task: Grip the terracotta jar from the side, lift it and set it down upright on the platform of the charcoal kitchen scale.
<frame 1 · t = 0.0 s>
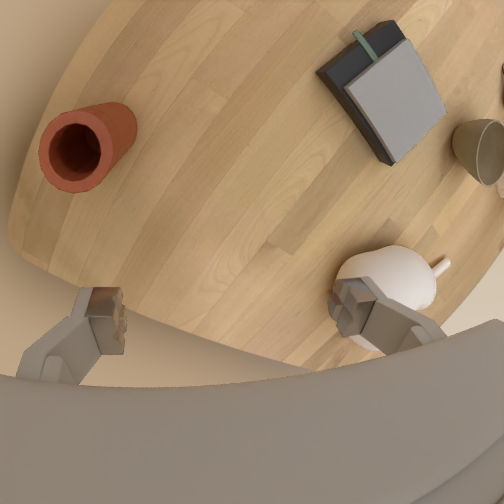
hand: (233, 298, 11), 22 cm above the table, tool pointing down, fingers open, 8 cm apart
jar: (110, 130, 25), on the table
stomach: (383, 274, 44), on the table
scale: (383, 90, 29), on the table
olive grey bowl: (460, 140, 34), on the table
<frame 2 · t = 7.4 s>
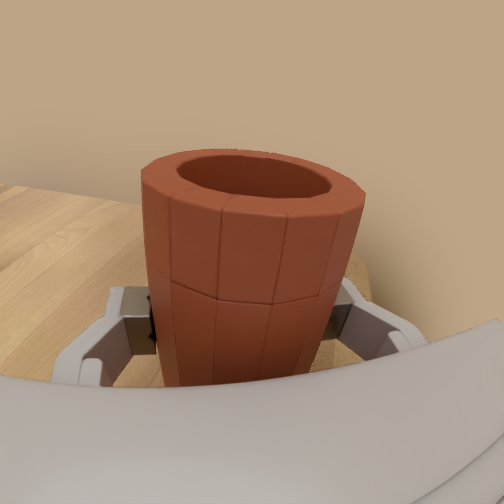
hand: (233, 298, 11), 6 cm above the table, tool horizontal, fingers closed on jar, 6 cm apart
jar: (229, 402, 13), on the table, touching gripper
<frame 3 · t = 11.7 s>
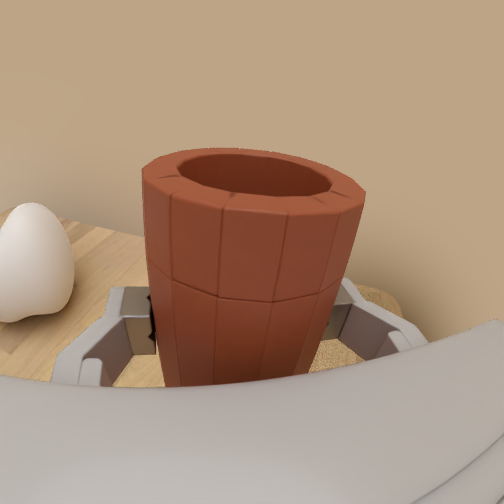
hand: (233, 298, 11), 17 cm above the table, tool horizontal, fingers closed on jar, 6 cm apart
jar: (229, 401, 13), point 11 cm above the table, touching gripper
stomach: (13, 299, 30), on the table
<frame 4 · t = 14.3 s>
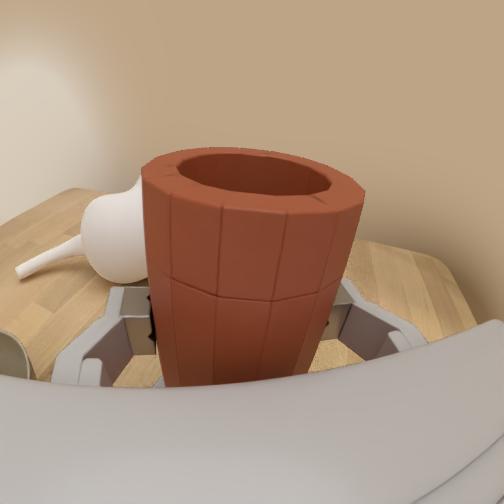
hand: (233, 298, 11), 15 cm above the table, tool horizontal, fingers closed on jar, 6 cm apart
jar: (229, 401, 13), point 9 cm above the table, touching gripper
stomach: (117, 264, 37), on the table
olive grey bowl: (20, 429, 15), on the table
when the fingers open (9 cm above the table, at t = 16.3 s): jar stays where it is, resting on scale.
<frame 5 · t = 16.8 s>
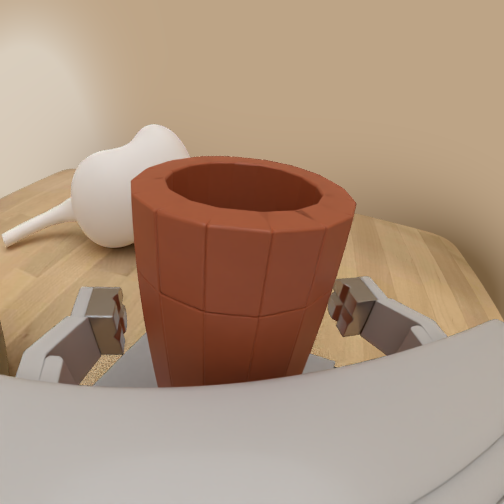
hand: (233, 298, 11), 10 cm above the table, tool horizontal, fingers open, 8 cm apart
jar: (223, 407, 13), point 3 cm above the table, touching scale
stomach: (109, 232, 34), on the table
scale: (223, 433, 15), on the table
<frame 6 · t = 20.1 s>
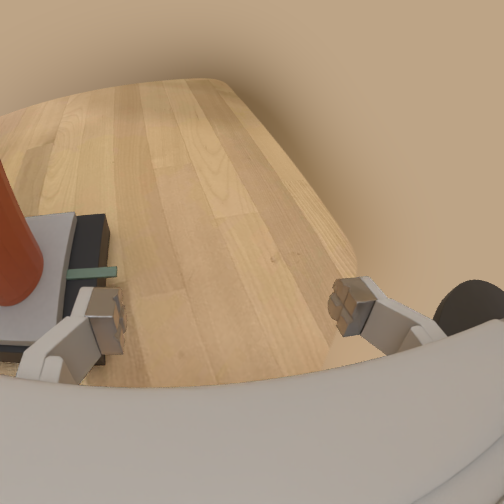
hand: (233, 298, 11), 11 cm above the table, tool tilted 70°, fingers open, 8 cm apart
jar: (13, 272, 16), point 3 cm above the table, touching scale
scale: (31, 294, 19), on the table
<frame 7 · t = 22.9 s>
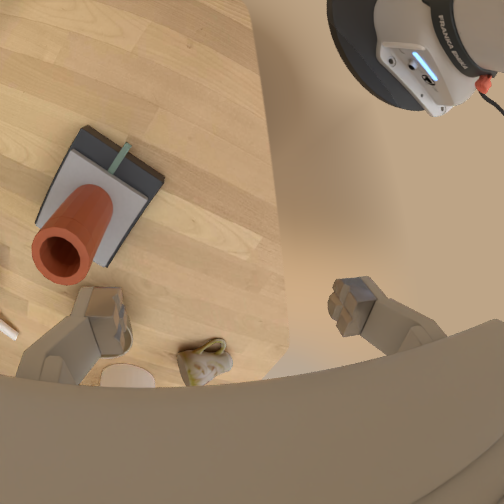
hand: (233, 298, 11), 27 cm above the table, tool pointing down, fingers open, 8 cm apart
jar: (90, 207, 30), point 3 cm above the table, touching scale
bottle: (128, 379, 52), on the table
scale: (97, 196, 33), on the table
mug: (203, 352, 52), on the table
olive grey bowl: (105, 302, 42), on the table
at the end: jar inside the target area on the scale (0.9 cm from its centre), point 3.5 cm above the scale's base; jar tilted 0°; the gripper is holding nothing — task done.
